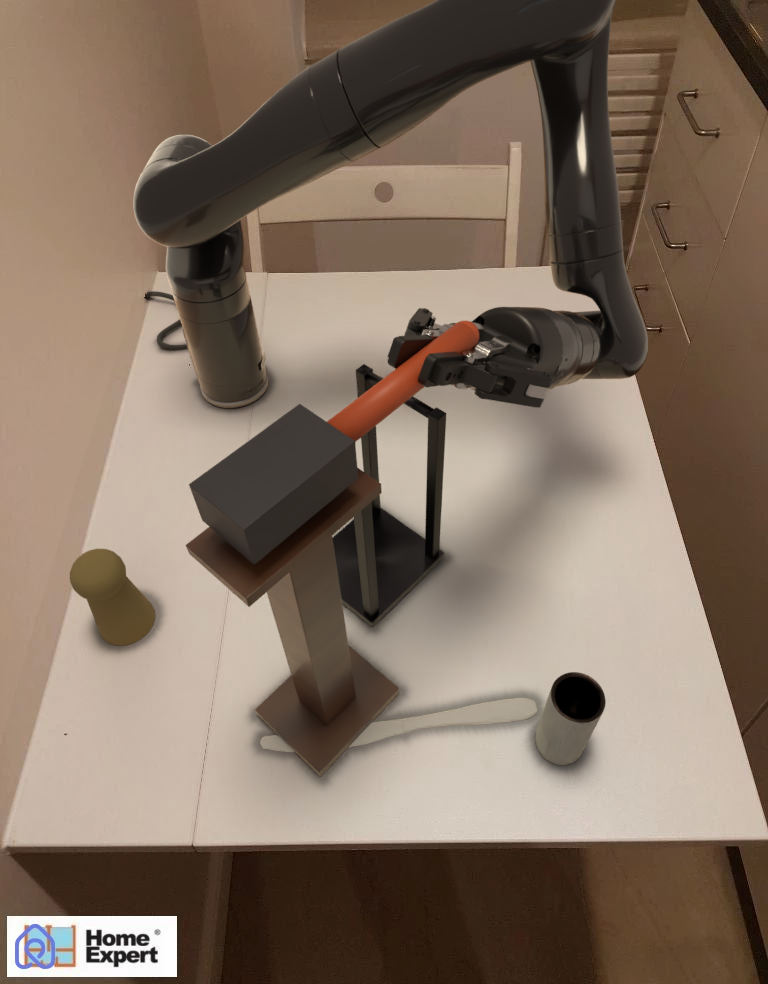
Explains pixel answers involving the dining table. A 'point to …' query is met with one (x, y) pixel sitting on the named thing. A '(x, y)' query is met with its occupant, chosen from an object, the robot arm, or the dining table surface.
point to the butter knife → (433, 721)
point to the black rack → (390, 528)
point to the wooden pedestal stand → (308, 630)
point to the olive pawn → (112, 597)
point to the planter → (569, 717)
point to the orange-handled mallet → (304, 459)
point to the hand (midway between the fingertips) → (410, 362)
